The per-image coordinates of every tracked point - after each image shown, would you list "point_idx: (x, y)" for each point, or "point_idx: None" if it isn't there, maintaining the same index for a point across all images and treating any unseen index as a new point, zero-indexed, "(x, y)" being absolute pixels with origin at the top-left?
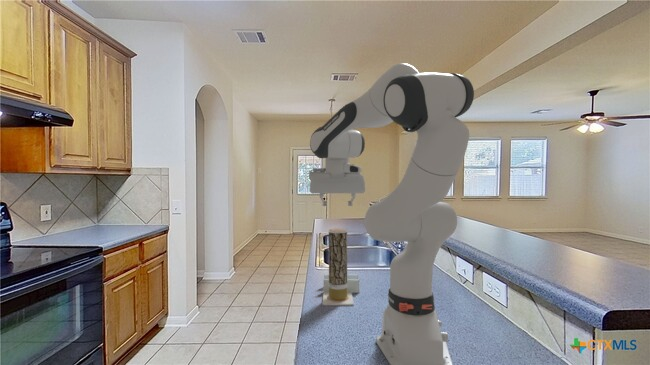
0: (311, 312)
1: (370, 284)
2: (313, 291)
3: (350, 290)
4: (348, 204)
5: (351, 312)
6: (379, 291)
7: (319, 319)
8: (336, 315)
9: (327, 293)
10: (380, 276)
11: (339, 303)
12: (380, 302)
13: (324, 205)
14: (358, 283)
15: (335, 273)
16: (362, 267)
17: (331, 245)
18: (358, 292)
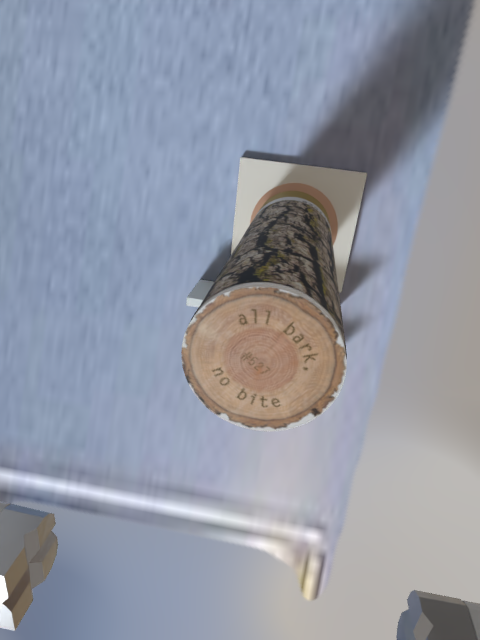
0: (426, 102)
1: (147, 353)
2: (377, 319)
3: None
4: (38, 525)
5: (261, 87)
6: (124, 283)
7: (406, 23)
8: (327, 61)
9: None
10: (101, 419)
11: (296, 167)
12: (135, 177)
13: (453, 601)
14: (194, 292)
15: (306, 214)
16: (152, 511)
17: (328, 276)
18: (203, 280)
